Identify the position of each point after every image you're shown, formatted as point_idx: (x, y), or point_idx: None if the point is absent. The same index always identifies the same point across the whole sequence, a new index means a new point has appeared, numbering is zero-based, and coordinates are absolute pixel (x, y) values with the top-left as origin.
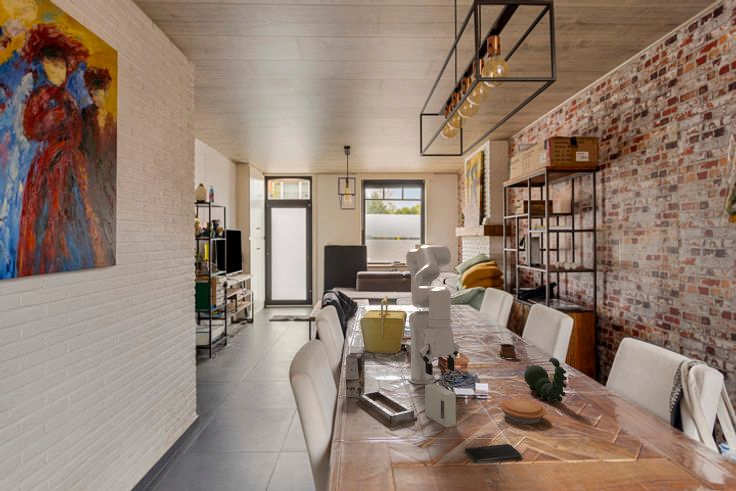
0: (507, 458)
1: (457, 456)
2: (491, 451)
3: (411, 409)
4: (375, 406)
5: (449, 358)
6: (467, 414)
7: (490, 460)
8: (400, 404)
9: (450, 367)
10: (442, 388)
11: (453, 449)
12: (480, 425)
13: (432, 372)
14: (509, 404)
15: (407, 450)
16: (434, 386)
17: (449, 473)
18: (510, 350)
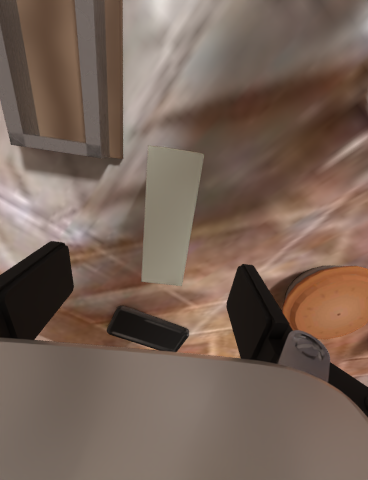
0: (152, 347)
1: (97, 308)
2: (149, 329)
3: (98, 143)
4: None
5: (266, 348)
6: (254, 217)
7: (128, 339)
8: (85, 72)
9: (235, 302)
10: (181, 229)
11: (106, 293)
12: (222, 268)
13: (64, 299)
14: (321, 297)
15: (25, 254)
16: (171, 191)
17: (58, 325)
18: None
